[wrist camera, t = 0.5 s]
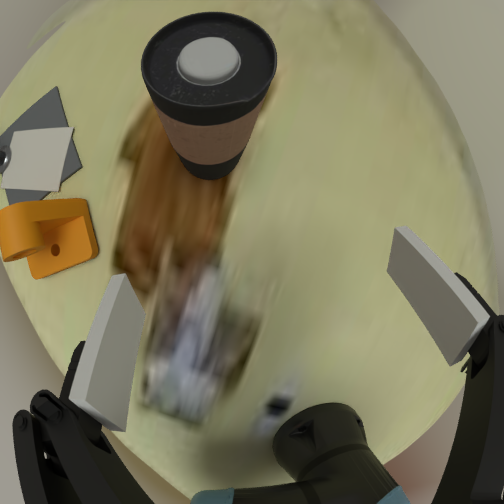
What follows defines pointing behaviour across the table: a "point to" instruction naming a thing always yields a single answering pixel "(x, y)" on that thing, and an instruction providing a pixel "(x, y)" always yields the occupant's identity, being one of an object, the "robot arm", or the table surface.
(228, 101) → the travel mug
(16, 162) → the mat
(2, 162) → the grey smooth fixture
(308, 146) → the table surface
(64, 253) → the bracket
